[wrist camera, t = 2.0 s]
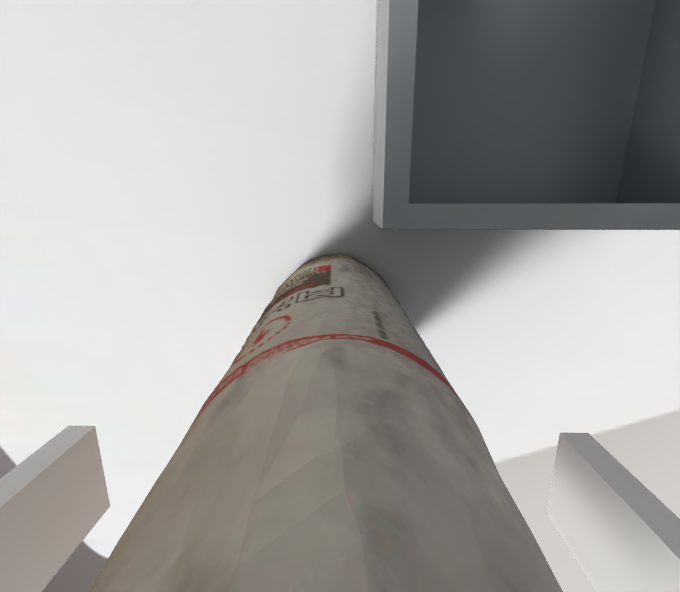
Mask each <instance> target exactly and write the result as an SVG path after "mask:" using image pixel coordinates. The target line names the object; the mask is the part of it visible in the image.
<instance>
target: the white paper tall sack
mask: <svg viewBox="0 0 680 592" xmlns="http://www.w3.org/2000/svg"><path fill="white" fill-rule="evenodd" d="M385 283H386V282H385V281H384V280H383V278H382V277H381V276H380V275H379V274H378V273H376V272H374V271H373V270H372V269H370V268H368V267H367V266H366V265H364V264H362V263H360V262H358V261H357V260H355V259H354V258H352V257H350V256H344V255H326V256H323V257H321V258H318V259H316V260H313V261H311V262H308V263H306V264H304V265H302V266H301V267H300V268H299V269H297V270H296V271H295V272H294V273H293V274H292V275H291V276H290V277H289V278H288V279H287V280H286V281H285V282H284V283H283V284H282V285H281V286H280V287H279V288H278V290H277V292H276V294H275V296H274V298H273V300H272V301H271V302H270V304H269V305H268V306H267V307H266V309H265V310H264V312H263V314H262V316H261V318H260V319H259V320H258V322H257V324H256V325H255V326H254V327H253V330H252V331H251V334H250V335H249V336H248V338H247V340H246V342H245V344H244V345H243V346H242V349H241V351H240V352H239V354H238V355H237V356H236V358H235V359H234V361H233V363H232V365H231V366H230V368H229V370H228V371H227V373H226V374H225V375H224V377H223V378H222V380H221V381H220V382H219V384H218V385H217V386H216V388H215V389H214V391H213V392H212V393H211V395H210V396H209V397H208V399H207V400H206V401H205V403H204V405H203V406H202V408H201V410H200V411H199V413H198V415H197V417H196V418H195V420H194V422H193V423H192V425H191V427H190V429H189V430H188V432H187V434H186V435H185V437H184V439H183V440H182V442H181V444H180V445H179V447H178V449H177V450H176V452H175V453H174V455H173V457H172V458H171V460H170V461H169V463H168V464H167V466H166V468H165V469H164V471H163V472H162V474H161V475H160V476H159V478H158V479H157V481H156V482H155V484H154V486H153V487H152V489H151V490H150V492H149V494H148V495H147V497H146V498H145V500H144V502H143V503H142V505H141V506H140V508H139V510H138V511H137V513H136V514H135V516H134V518H133V519H132V521H131V522H130V524H129V526H128V527H127V529H126V530H125V532H124V534H123V535H122V537H121V538H120V540H119V541H118V543H117V545H116V546H115V548H114V550H113V552H112V553H111V555H110V557H109V558H108V560H107V562H106V563H105V565H104V567H103V569H102V570H101V572H100V574H99V575H98V577H97V579H96V581H95V582H94V584H93V586H92V587H91V589H90V591H89V592H563V591H562V590H561V588H560V586H559V584H558V582H557V580H556V578H555V576H554V574H553V572H552V570H551V568H550V566H549V565H548V563H547V561H546V559H545V557H544V555H543V553H542V551H541V549H540V547H539V545H538V543H537V542H536V539H535V538H534V536H533V534H532V532H531V530H530V528H529V527H528V525H527V523H526V521H525V520H524V518H523V516H522V514H521V513H520V511H519V509H518V507H517V505H516V504H515V502H514V500H513V498H512V497H511V495H510V493H509V491H508V489H507V488H506V486H505V484H504V482H503V481H502V479H501V477H500V475H499V473H498V471H497V469H496V466H495V464H494V462H493V460H492V457H491V455H490V453H489V451H488V448H487V446H486V444H485V441H484V439H483V437H482V435H481V432H480V430H479V428H478V426H477V425H476V423H475V421H474V419H473V418H472V416H471V414H470V413H469V411H468V410H467V408H466V407H465V405H464V404H463V403H462V401H461V400H460V398H459V397H458V395H457V394H456V392H455V391H454V389H453V388H452V386H451V385H450V383H449V382H448V380H447V379H446V377H445V375H444V374H443V372H442V370H441V369H440V367H439V365H438V364H437V362H436V361H435V359H434V358H433V356H432V354H431V353H430V351H429V350H428V348H427V347H426V345H425V343H424V342H423V340H422V339H421V337H420V336H419V334H418V333H417V331H416V330H415V328H414V326H413V325H412V323H411V322H410V320H409V319H408V317H407V315H406V314H405V313H404V311H403V309H402V308H401V306H400V304H399V303H398V301H397V300H396V299H395V298H394V296H393V295H392V293H391V292H390V290H389V288H388V287H387V285H386V284H385Z"/></svg>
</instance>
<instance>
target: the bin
mask: <svg viewBox="0 0 680 592" xmlns="http://www.w3.org/2000/svg"><path fill="white" fill-rule="evenodd" d="M372 221H373V222H374V223H375V224H376V225H378V226H379V227H380V228H382V229H543V230H680V0H377V27H376V72H375V117H374V161H373V206H372Z"/></svg>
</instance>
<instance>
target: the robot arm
mask: <svg viewBox="0 0 680 592" xmlns="http://www.w3.org/2000/svg"><path fill="white" fill-rule="evenodd" d="M109 507H110V503H109V498H108V493H107V487H106V482H105V477H104V471H103V466H102V461H101V456H100V450H99V445H98V440H97V434H96V429H95V426H68V427H67V428H65V429H64V430H63V431H61V432H60V433H59V434H58V435H56V436H55V437H54V438H52V439H51V440H50V441H49V442H47V443H46V444H45V445H43V446H42V447H41V448H40V449H38V450H37V451H36V452H34V453H33V454H32V455H31V456H29V457H28V458H27V459H25V460H24V461H23V462H22V463H20V464H19V465H18V466H16V467H15V468H14V469H12V470H11V471H10V472H9V473H7V474H6V475H5V476H3V477H2V478H1V479H0V592H42V590H43V589H44V588H45V587H46V585H47V584H48V583H49V582H50V580H51V579H52V578H53V577H54V575H55V574H56V573H57V572H58V570H59V569H60V568H61V567H62V565H63V564H64V563H65V562H66V560H67V559H68V558H69V557H70V555H71V554H72V553H73V551H74V550H75V549H76V548H77V546H78V545H79V544H80V543H81V542H82V540H83V539H84V538H85V537H86V535H87V534H88V533H89V532H90V530H91V529H92V528H93V527H94V525H95V524H96V523H97V522H98V520H99V519H100V518H101V517H102V515H103V514H104V513H105V512H106V510H107V509H108V508H109ZM546 515H547V516H548V518H549V520H550V521H551V523H552V524H553V526H554V527H555V529H556V530H557V532H558V533H559V535H560V537H561V538H562V540H563V541H564V543H565V544H566V546H567V547H568V549H569V550H570V552H571V554H572V555H573V557H574V558H575V560H576V561H577V563H578V564H579V566H580V567H581V569H582V570H583V572H584V573H585V575H586V577H587V578H588V580H589V581H590V583H591V585H592V586H593V587H594V589H595V591H596V592H680V519H679V518H678V517H677V516H676V515H675V514H674V513H673V512H672V511H671V510H670V509H668V508H667V507H666V506H665V505H664V504H663V503H662V502H661V501H660V500H659V499H658V498H657V497H656V496H655V495H654V494H652V493H651V492H650V491H649V490H648V489H647V488H646V487H645V486H644V485H643V484H642V483H640V482H639V480H638V479H636V478H635V477H634V476H633V475H632V474H631V473H630V472H629V471H628V470H627V469H626V468H625V467H624V466H623V465H622V464H620V463H619V462H618V461H617V460H616V459H615V458H614V457H613V456H612V455H611V454H610V453H609V452H608V451H607V450H606V449H604V448H603V447H602V446H601V445H600V444H599V443H598V442H597V441H596V440H595V439H594V438H593V437H592V436H591V435H590V434H588V433H560V436H559V442H558V448H557V454H556V460H555V465H554V471H553V477H552V483H551V489H550V495H549V501H548V506H547V512H546Z"/></svg>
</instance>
